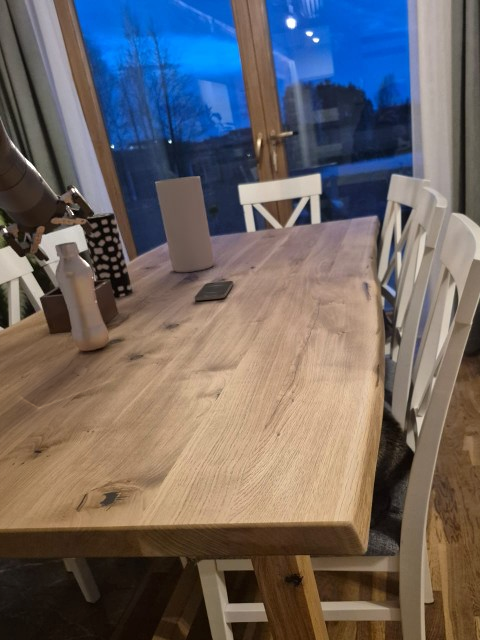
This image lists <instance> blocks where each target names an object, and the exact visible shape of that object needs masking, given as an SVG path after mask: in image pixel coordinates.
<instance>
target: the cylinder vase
mask: <svg viewBox="0 0 480 640" xmlns="http://www.w3.org/2000/svg"><path fill="white" fill-rule="evenodd" d="M154 183H155V190H156V193H157V198H158V204H159V208H160V213H161V219H162V222H163V228H164V232H165V236H166V243H167V249H168V253H169V256H170V257H169V258H170V263H171V268H172V270H173V271H174V272H176V273H192V272H200V271H204V270H207V269H210V268H212V267H213V266H214V265H215V258H214V251H213V246H212V239H211V235H210V229H209V221H208V218H207V210H206V205H205V200H204V198H205V197H204V192H203V188H202V181H201V176H199V175H198V176H196V175H195V176H186V177H177V178H169V179H164V180H159V181H155V182H154Z"/></svg>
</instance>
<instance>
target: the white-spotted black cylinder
mask: <svg viewBox="0 0 480 640" xmlns="http://www.w3.org/2000/svg"><path fill="white" fill-rule="evenodd" d="M87 220H88V222H89V223H90V225H91V226H92V228H93V231H91V233H92V235H90V236H88V235H87V234H86V232H85V231H84V230H83V229H82V231H83V236H84V240H85V243H86V247H87V250H88V255H89V258H90V262H91V267H92V271H93V275H94V277H95V281H98V280H108V279H110V282H111V286H112V290H113V294H114V298H115V299H117V298H122V297H126V296H129V295H130V294H132V293H133V287H132V282H131V279H130V274H129V270H128V266H127V262H126V258H125V253H124V249H123V245H122V240H121V237H120V233H119V228H118V223H117V219H116V215H115V213H114V212H107V213H98V214H94V215H93V216H92V217H88V218H87Z"/></svg>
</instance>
